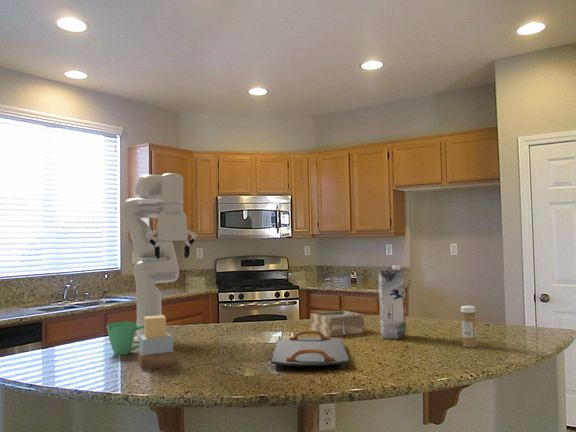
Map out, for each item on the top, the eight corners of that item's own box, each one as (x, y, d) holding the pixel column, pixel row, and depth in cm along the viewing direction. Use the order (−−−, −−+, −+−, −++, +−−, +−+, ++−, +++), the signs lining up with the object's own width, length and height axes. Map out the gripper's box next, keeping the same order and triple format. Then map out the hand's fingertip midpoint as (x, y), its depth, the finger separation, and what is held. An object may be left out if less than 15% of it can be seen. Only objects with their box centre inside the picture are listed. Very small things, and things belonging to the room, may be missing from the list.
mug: (103, 357, 161) (103, 326, 162) (111, 350, 171) (111, 322, 172) (147, 354, 163) (147, 325, 163) (153, 348, 172) (153, 320, 173)
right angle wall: (357, 331, 198) (355, 312, 200) (344, 334, 189) (342, 314, 190) (332, 331, 205) (330, 313, 206) (317, 334, 195) (316, 315, 196)
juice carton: (379, 339, 179) (376, 266, 181) (384, 334, 189) (382, 265, 190) (403, 340, 176) (400, 266, 177) (407, 335, 185) (404, 264, 187)
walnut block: (137, 363, 153) (137, 349, 153) (169, 359, 157) (169, 345, 157) (141, 370, 143) (141, 355, 144) (175, 366, 148) (175, 351, 148)
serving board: (351, 373, 134) (350, 351, 134) (268, 375, 135) (268, 352, 135) (341, 345, 173) (340, 327, 173) (277, 346, 173) (276, 328, 174)
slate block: (139, 349, 152) (138, 335, 153) (167, 346, 156) (167, 332, 156) (142, 355, 144) (142, 340, 145) (173, 351, 148) (173, 336, 148)
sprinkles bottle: (479, 346, 161) (477, 306, 162) (471, 348, 159) (469, 307, 160) (468, 344, 165) (466, 305, 166) (459, 346, 163) (457, 306, 164)
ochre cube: (144, 335, 152) (144, 316, 152) (163, 333, 154) (163, 314, 155) (146, 338, 146) (145, 318, 147) (166, 336, 149) (165, 317, 149)
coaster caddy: (310, 330, 201) (310, 313, 201) (343, 326, 208) (343, 310, 208) (329, 336, 186) (329, 318, 187) (364, 332, 193) (363, 314, 194)
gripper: (147, 208, 161) (147, 259, 160) (199, 208, 168) (199, 258, 167) (145, 209, 168) (145, 258, 167) (194, 209, 175) (194, 257, 174)
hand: (172, 258), depth 167 cm, fingers open, 9 cm apart
